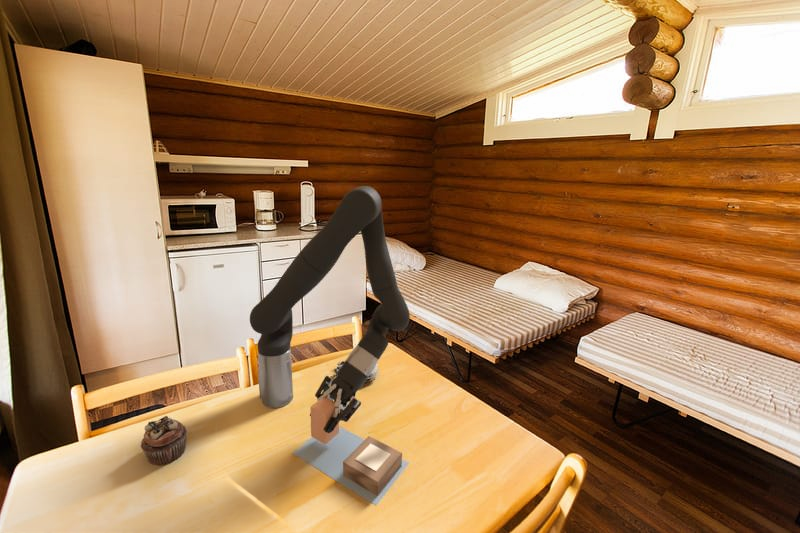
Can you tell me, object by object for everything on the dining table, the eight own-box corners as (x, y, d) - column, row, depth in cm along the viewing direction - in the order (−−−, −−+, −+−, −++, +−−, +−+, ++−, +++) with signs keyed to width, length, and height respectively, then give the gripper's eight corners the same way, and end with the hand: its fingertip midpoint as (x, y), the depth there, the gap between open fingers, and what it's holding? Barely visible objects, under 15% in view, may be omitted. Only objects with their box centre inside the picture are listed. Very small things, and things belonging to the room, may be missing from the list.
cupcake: (197, 448, 92) (193, 415, 90) (158, 475, 84) (151, 439, 81) (175, 434, 97) (170, 402, 94) (135, 459, 88) (128, 424, 86)
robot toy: (332, 388, 120) (378, 386, 121) (331, 376, 119) (377, 374, 119) (338, 368, 132) (379, 366, 132) (336, 357, 131) (378, 355, 131)
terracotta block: (311, 436, 93) (310, 406, 90) (324, 425, 97) (324, 396, 95) (325, 444, 90) (325, 414, 88) (338, 432, 95) (339, 403, 92)
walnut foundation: (343, 475, 85) (343, 460, 84) (368, 448, 93) (368, 435, 92) (377, 496, 80) (378, 481, 79) (401, 466, 88) (402, 452, 87)
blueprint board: (292, 455, 91) (292, 453, 91) (330, 423, 103) (330, 421, 103) (376, 507, 78) (376, 505, 78) (409, 464, 90) (409, 462, 90)
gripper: (334, 350, 99) (295, 405, 94) (367, 373, 89) (325, 436, 84) (350, 361, 104) (313, 414, 99) (382, 384, 94) (344, 444, 89)
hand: (319, 424), depth 91 cm, fingers closed on terracotta block, 6 cm apart
